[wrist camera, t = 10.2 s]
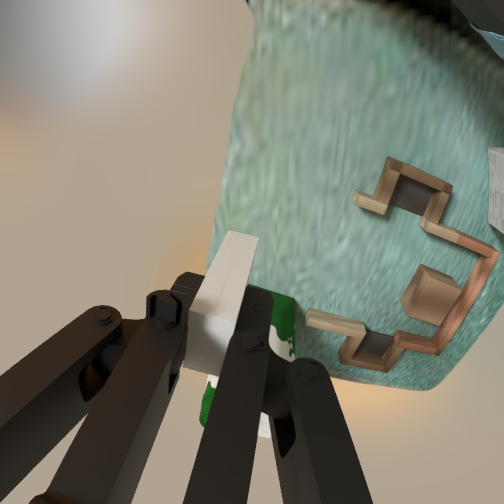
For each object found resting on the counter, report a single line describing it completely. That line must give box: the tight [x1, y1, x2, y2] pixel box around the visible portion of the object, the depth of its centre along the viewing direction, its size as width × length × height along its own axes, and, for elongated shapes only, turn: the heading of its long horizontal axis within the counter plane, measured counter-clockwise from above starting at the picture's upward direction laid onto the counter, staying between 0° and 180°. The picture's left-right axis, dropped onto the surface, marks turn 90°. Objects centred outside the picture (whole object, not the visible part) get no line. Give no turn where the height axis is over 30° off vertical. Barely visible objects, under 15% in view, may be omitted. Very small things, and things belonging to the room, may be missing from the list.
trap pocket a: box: [373, 156, 453, 225], centre depth 34 cm, size 5×8×2 cm, turn 75°
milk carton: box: [199, 284, 295, 438], centre depth 36 cm, size 9×9×20 cm
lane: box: [306, 190, 500, 356], centre depth 39 cm, size 18×23×2 cm
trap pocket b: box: [338, 330, 404, 373], centre depth 45 cm, size 5×8×2 cm, turn 75°
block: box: [400, 264, 462, 326], centre depth 39 cm, size 6×6×4 cm
